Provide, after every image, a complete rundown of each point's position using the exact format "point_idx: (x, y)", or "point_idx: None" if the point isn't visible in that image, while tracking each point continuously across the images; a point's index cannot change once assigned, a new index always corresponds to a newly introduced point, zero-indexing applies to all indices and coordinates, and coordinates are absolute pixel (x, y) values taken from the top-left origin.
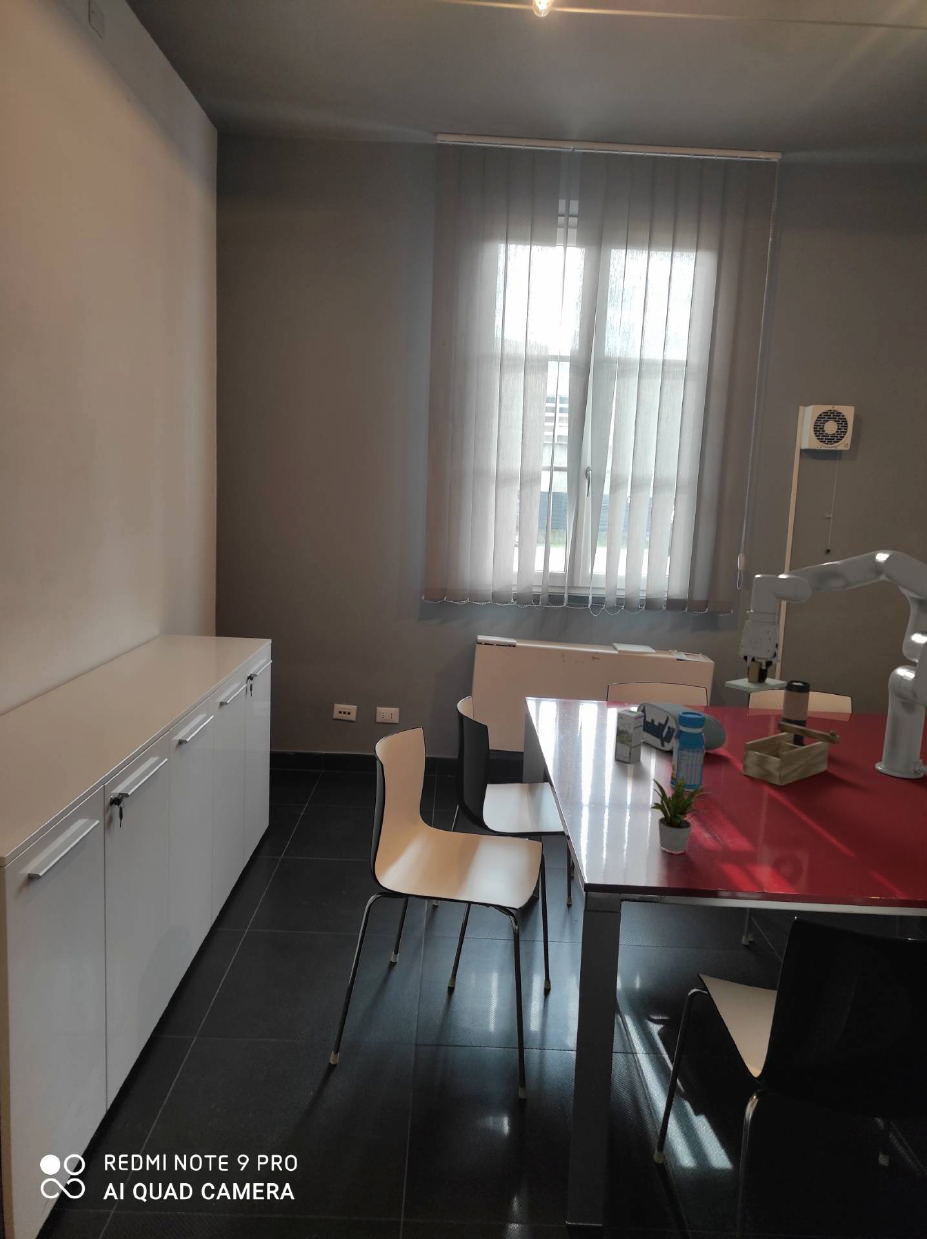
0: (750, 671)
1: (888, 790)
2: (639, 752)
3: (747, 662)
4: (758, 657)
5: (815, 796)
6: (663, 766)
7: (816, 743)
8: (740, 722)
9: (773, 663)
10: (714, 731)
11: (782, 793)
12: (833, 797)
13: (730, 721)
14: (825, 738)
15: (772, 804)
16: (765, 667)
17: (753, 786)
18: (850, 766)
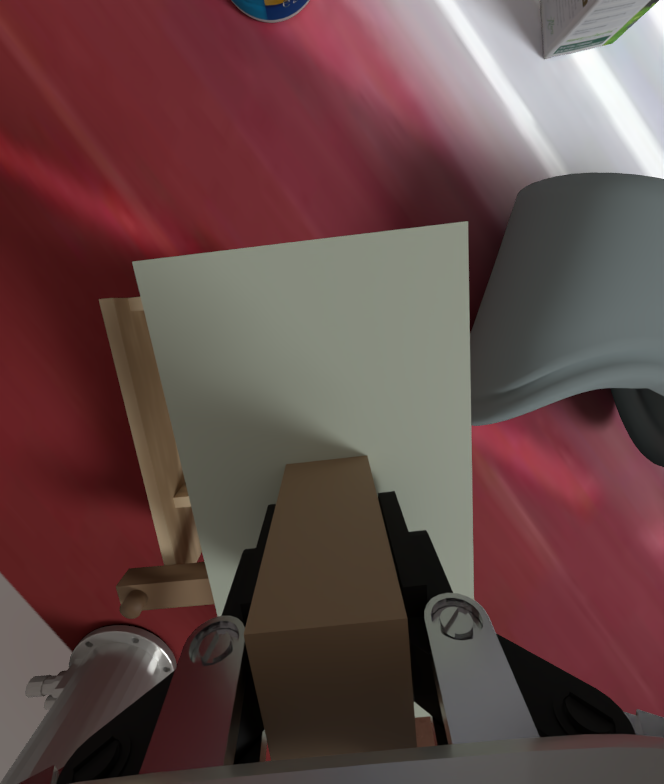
0: (360, 515)
1: (33, 528)
2: (562, 21)
3: (482, 633)
4: (226, 770)
5: (55, 311)
6: (457, 90)
7: (159, 524)
8: (587, 675)
9: (38, 775)
10: (476, 371)
11: (105, 241)
12: (33, 351)
13: (609, 661)
14: (157, 573)
15: (39, 115)
16: (185, 649)
17: (184, 212)
18: (202, 606)
